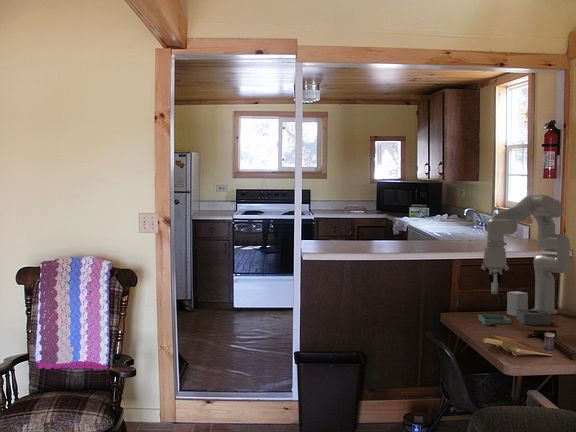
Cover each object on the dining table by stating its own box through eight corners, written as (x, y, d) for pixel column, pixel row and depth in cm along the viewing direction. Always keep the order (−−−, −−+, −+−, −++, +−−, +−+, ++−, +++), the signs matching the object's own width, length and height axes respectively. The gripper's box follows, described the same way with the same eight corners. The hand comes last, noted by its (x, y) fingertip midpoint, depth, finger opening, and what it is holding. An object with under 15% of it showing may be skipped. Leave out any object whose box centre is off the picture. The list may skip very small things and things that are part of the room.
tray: (478, 320, 278) (478, 314, 278) (503, 320, 276) (503, 315, 276) (484, 325, 266) (484, 319, 266) (511, 326, 264) (511, 320, 264)
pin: (488, 292, 273) (489, 268, 273) (497, 293, 272) (498, 268, 272) (491, 294, 269) (491, 269, 268) (500, 294, 268) (500, 269, 268)
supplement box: (528, 317, 285) (528, 293, 284) (517, 318, 282) (517, 293, 282) (517, 314, 292) (517, 290, 291) (506, 315, 289) (506, 291, 289)
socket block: (516, 321, 275) (516, 309, 275) (541, 321, 274) (541, 309, 274) (524, 326, 263) (524, 314, 263) (550, 327, 262) (550, 314, 262)
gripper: (510, 244, 273) (509, 281, 273) (476, 244, 275) (475, 281, 275) (514, 245, 266) (514, 283, 266) (479, 245, 267) (479, 283, 268)
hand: (494, 282), depth 270 cm, fingers closed on pin, 3 cm apart
